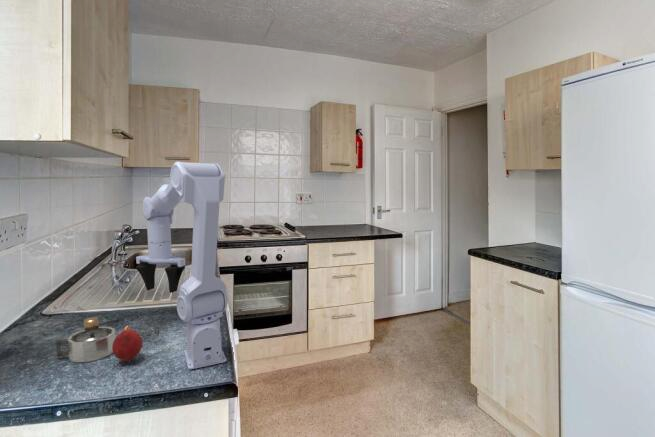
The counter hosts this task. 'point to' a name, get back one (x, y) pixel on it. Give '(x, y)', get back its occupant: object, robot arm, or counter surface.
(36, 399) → the counter surface
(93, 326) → the plunger
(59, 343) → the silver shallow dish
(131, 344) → the onion
